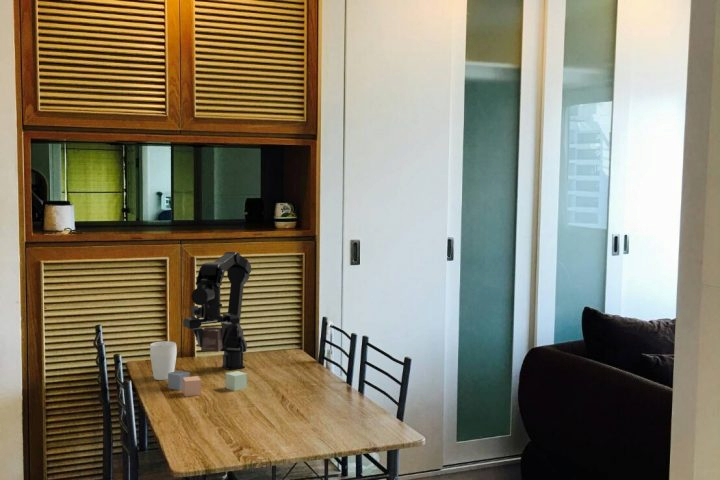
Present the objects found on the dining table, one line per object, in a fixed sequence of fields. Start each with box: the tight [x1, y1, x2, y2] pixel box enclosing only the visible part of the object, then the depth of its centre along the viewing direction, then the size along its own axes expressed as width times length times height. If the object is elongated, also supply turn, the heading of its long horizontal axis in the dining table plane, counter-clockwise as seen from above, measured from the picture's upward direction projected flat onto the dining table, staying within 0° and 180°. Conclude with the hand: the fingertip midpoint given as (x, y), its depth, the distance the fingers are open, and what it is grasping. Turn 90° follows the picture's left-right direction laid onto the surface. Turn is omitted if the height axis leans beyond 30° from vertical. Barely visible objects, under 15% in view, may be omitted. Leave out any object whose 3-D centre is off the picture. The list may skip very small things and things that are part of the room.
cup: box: [149, 340, 178, 381], centre depth 277 cm, size 9×9×12 cm
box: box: [200, 326, 223, 353], centre depth 273 cm, size 6×6×7 cm
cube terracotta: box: [182, 375, 202, 397], centre depth 259 cm, size 5×5×5 cm
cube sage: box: [225, 370, 248, 392], centre depth 267 cm, size 5×5×5 cm
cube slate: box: [167, 369, 191, 391], centre depth 266 cm, size 5×5×5 cm
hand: (211, 345), depth 274 cm, fingers closed on box, 8 cm apart
